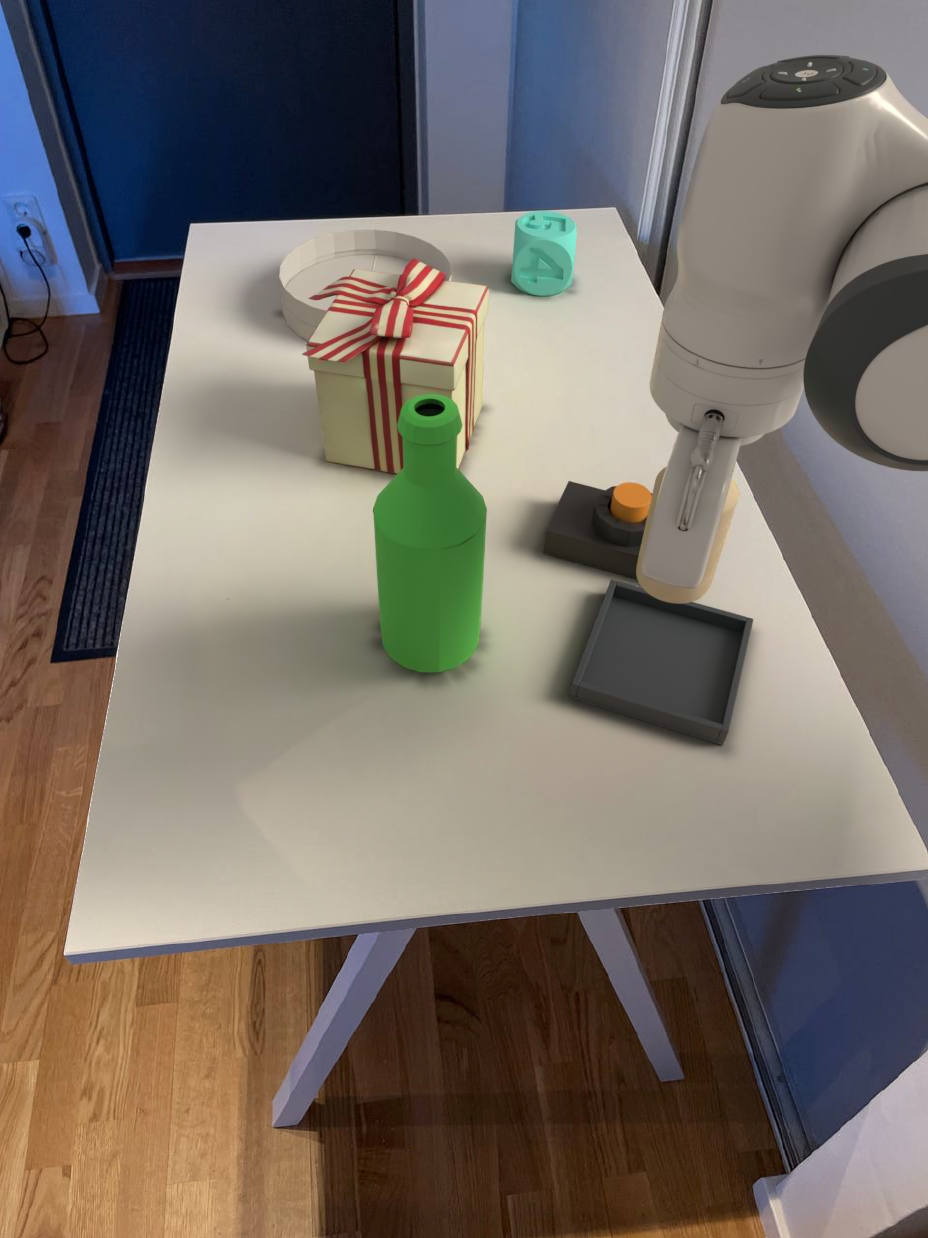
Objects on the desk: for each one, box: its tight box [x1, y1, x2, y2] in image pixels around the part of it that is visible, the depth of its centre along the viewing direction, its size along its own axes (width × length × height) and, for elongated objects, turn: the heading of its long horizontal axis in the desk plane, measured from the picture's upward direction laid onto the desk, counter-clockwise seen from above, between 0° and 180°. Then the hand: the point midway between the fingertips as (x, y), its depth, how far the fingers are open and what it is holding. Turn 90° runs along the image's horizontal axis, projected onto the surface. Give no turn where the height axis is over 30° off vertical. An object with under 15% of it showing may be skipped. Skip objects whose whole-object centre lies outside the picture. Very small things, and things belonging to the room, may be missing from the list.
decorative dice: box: [510, 210, 578, 297], centre depth 122 cm, size 8×8×8 cm
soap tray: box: [568, 579, 754, 746], centre depth 81 cm, size 13×13×2 cm
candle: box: [636, 466, 740, 604], centre depth 64 cm, size 6×6×10 cm
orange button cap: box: [610, 481, 652, 523], centre depth 87 cm, size 4×4×2 cm
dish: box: [278, 229, 452, 341], centre depth 118 cm, size 22×22×5 cm
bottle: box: [372, 394, 488, 673], centre depth 73 cm, size 9×9×25 cm
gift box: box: [301, 259, 490, 474], centre depth 96 cm, size 17×18×17 cm
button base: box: [542, 480, 653, 580], centre depth 89 cm, size 14×8×5 cm, turn 69°
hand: (683, 540), depth 65 cm, fingers closed on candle, 5 cm apart
